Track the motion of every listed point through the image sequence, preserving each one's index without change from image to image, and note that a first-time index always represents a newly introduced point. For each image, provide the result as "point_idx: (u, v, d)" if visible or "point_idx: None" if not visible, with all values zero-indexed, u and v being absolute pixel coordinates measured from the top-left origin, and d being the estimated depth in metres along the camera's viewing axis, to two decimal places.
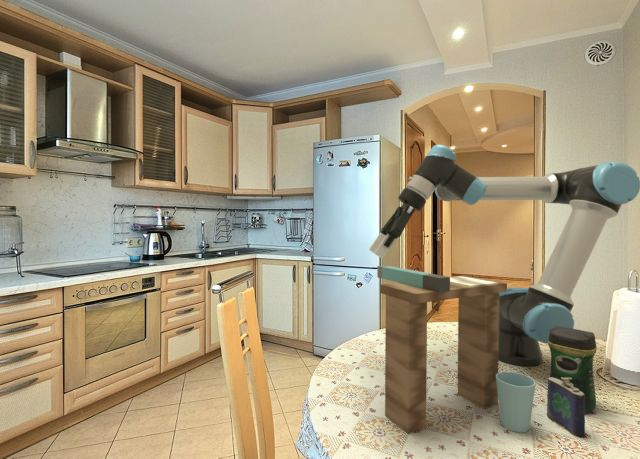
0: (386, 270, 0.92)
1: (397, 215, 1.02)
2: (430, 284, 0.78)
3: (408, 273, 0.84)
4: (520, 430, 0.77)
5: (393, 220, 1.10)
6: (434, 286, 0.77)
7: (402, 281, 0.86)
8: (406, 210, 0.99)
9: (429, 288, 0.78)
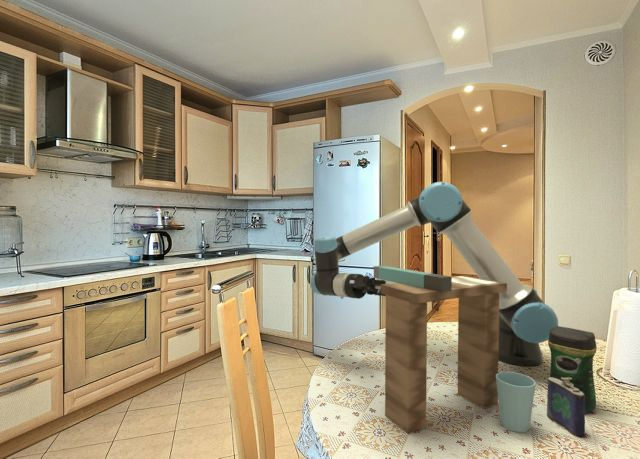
0: (383, 270, 0.91)
1: (364, 289, 1.05)
2: (432, 283, 0.78)
3: (408, 273, 0.84)
4: (520, 430, 0.77)
5: None
6: (436, 285, 0.77)
7: (401, 281, 0.86)
8: (352, 284, 1.04)
9: (431, 288, 0.79)
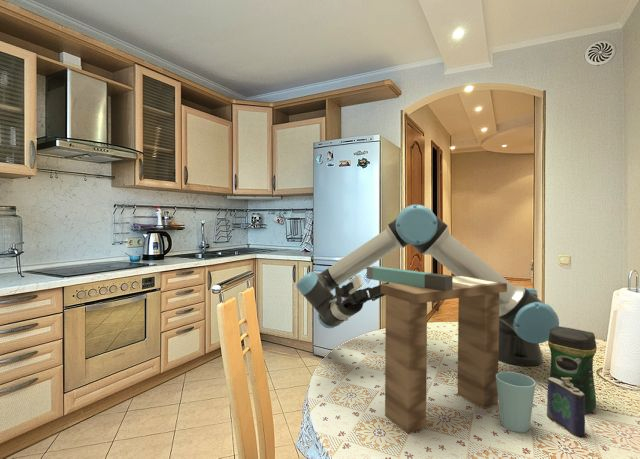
0: (378, 270, 0.90)
1: (349, 300, 1.02)
2: (433, 283, 0.79)
3: (406, 273, 0.84)
4: (520, 430, 0.77)
5: (372, 294, 1.05)
6: (438, 285, 0.78)
7: (399, 281, 0.86)
8: (336, 301, 1.03)
9: (432, 287, 0.79)
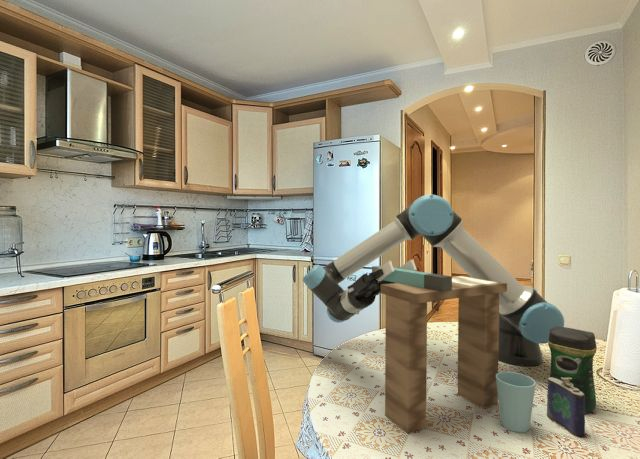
0: None
1: (367, 291, 0.97)
2: (432, 283, 0.78)
3: (407, 273, 0.84)
4: (520, 430, 0.77)
5: None
6: (437, 285, 0.77)
7: (400, 281, 0.86)
8: (352, 291, 0.97)
9: (431, 288, 0.79)
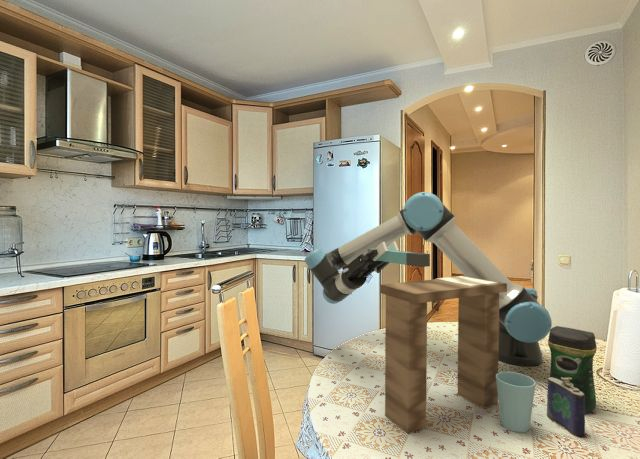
0: None
1: (360, 271, 1.08)
2: (412, 260, 0.89)
3: (394, 252, 0.95)
4: (520, 430, 0.77)
5: (370, 267, 1.10)
6: (416, 261, 0.88)
7: (389, 260, 0.97)
8: (347, 271, 1.08)
9: (412, 264, 0.89)
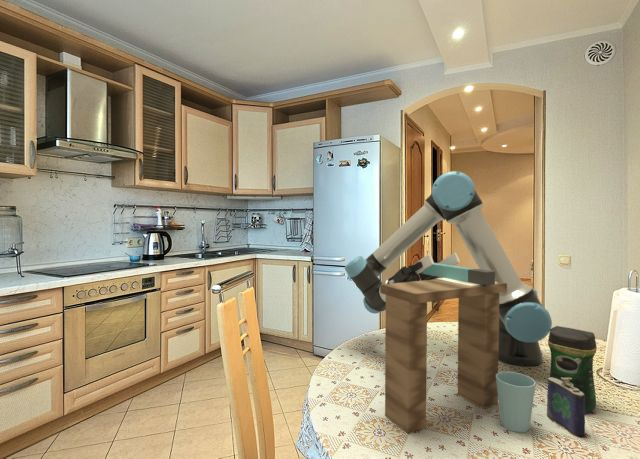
0: None
1: None
2: (476, 278, 0.84)
3: (452, 268, 0.91)
4: (520, 430, 0.77)
5: (423, 277, 1.06)
6: (480, 279, 0.83)
7: (446, 276, 0.93)
8: None
9: (475, 282, 0.85)
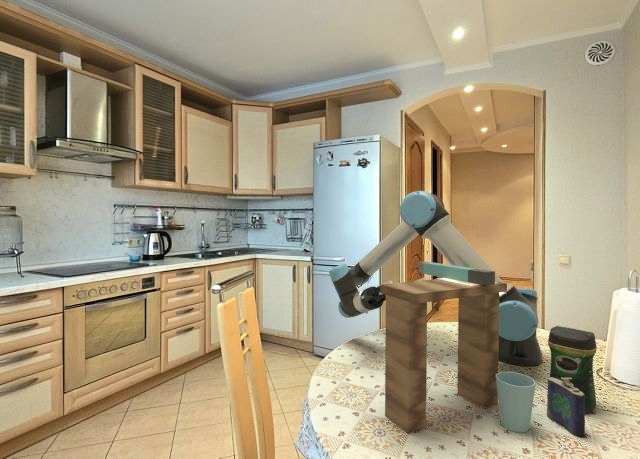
0: (428, 265, 0.98)
1: (375, 299, 1.17)
2: (476, 278, 0.84)
3: (452, 268, 0.91)
4: (520, 430, 0.77)
5: None
6: (480, 279, 0.83)
7: (446, 276, 0.93)
8: (363, 298, 1.18)
9: (475, 282, 0.85)
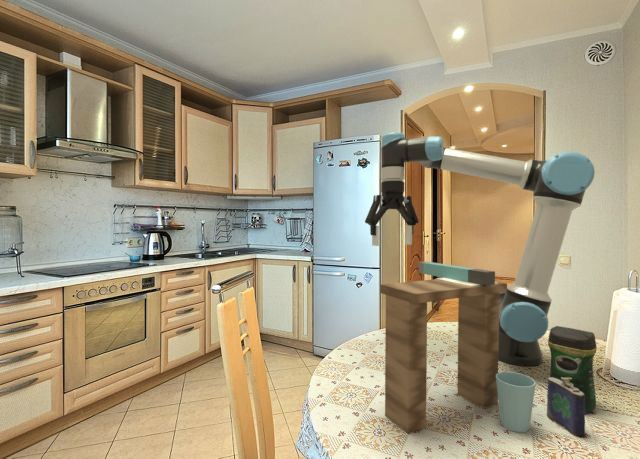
0: (428, 265, 0.98)
1: None
2: (476, 278, 0.84)
3: (452, 268, 0.91)
4: (520, 430, 0.77)
5: (399, 210, 1.23)
6: (480, 279, 0.83)
7: (446, 276, 0.93)
8: (374, 200, 1.18)
9: (475, 282, 0.85)
